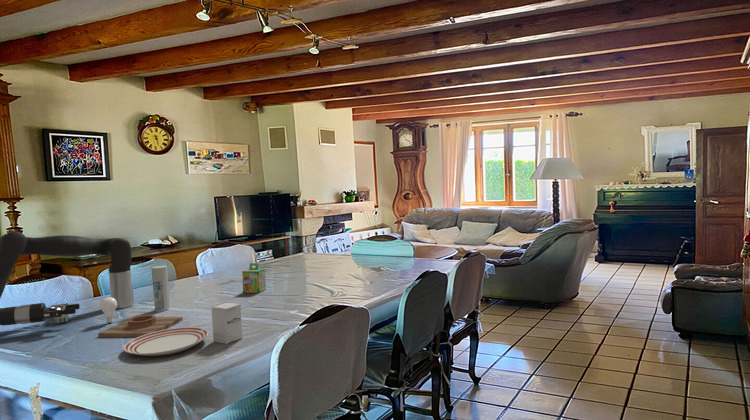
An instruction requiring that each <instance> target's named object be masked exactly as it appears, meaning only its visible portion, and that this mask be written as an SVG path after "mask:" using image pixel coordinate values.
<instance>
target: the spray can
mask: <svg viewBox="0 0 750 420" xmlns="http://www.w3.org/2000/svg"><path fill="white" fill-rule="evenodd" d="M168 274H169V273H168V266H167V265H157V266H152V267H151V276H152V277H151V278H152V288H153V291H152V292H153V301H154V303H153V304H154V311H155V312H164V311H165V310H166V311H168V309H169V308H171V307H170V296H169V295H170V293H169V292H170V291H169V279H168V278H169V276H168ZM169 310H170V309H169Z"/></svg>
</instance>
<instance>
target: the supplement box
mask: <svg viewBox="0 0 750 420" xmlns="http://www.w3.org/2000/svg"><path fill="white" fill-rule="evenodd" d="M241 310H242V308H241V304H240V303H235V302H233V303H232V302H225V303H221V304H218V305H215V306H212V307H211V317H212V318H211V321H212V341H213V342H215V343H219V344H224V345H228V344H230V343H232V342H235V341H238V340H241V339H242V338H243V326H242V311H241Z"/></svg>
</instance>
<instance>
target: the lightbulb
mask: <svg viewBox="0 0 750 420" xmlns="http://www.w3.org/2000/svg"><path fill="white" fill-rule="evenodd" d="M99 307H100V310H102V312H103V313H104V316H105V319H106V323H108V324H112V323H113V322H114V321H115V320H114V315H115V311H116V310H117V309H116V307H117V301H116V300H115V299H114V298H112V297H111V296H108V297H105V298H103V299H102V300H101V302H100V304H99Z"/></svg>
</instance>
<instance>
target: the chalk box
mask: <svg viewBox="0 0 750 420" xmlns="http://www.w3.org/2000/svg"><path fill="white" fill-rule="evenodd" d="M253 266H255V267H253ZM241 273H242V294H260V293H262V292H264V291H265V290H267V289H266V269H265V268H259V263H258V262H257V263H256V262H254V263H253V262H252V263H249V267H248V269H245V270H242V272H241Z"/></svg>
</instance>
